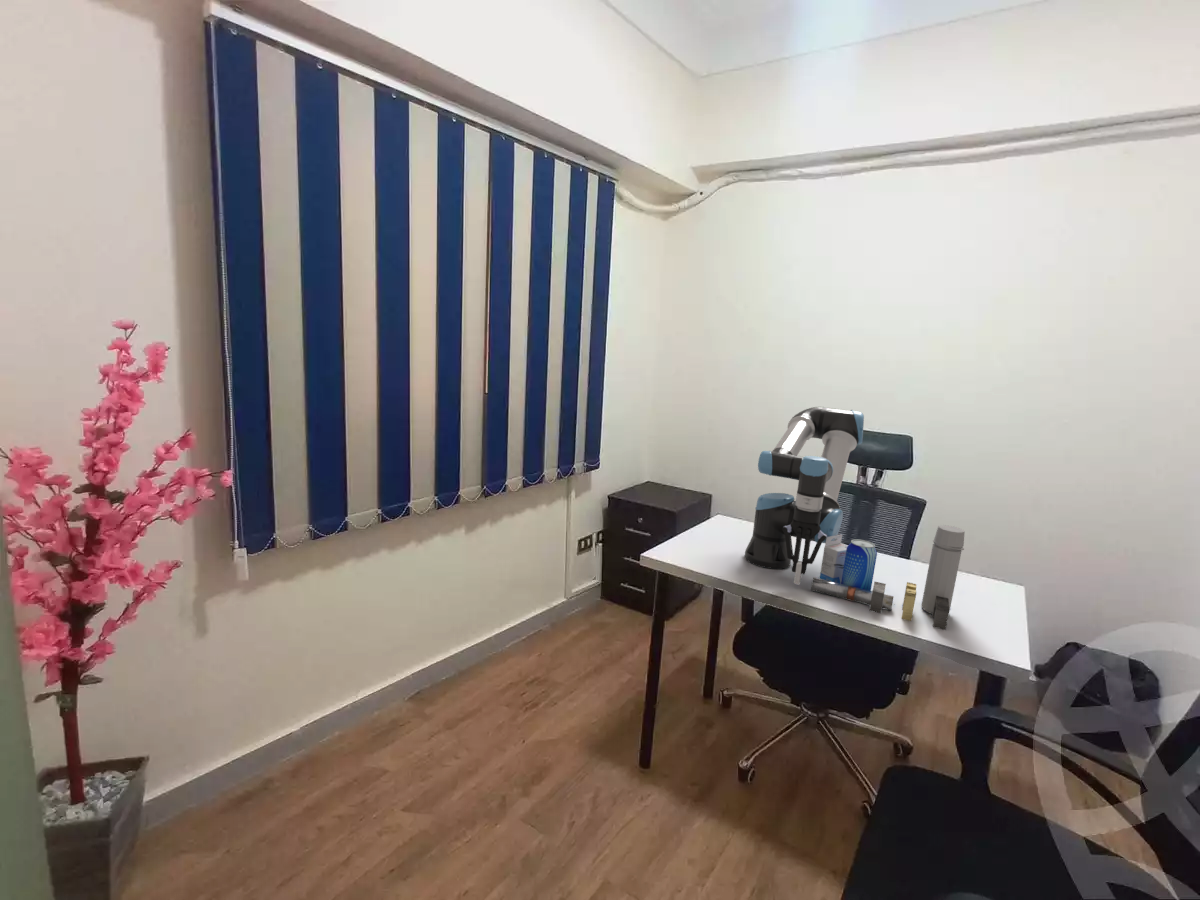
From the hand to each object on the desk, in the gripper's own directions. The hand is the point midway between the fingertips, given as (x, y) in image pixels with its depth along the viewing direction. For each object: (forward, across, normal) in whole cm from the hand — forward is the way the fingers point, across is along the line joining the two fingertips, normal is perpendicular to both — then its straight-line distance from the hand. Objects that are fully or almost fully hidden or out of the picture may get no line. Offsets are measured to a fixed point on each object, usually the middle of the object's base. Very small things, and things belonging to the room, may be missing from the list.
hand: (797, 582), depth 182 cm
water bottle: (+2, +38, +10) cm, 39 cm away
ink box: (+2, +9, +12) cm, 15 cm away
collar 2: (+2, +38, +1) cm, 38 cm away
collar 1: (+2, +22, +1) cm, 22 cm away
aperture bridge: (+2, +30, +1) cm, 30 cm away
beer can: (+2, +16, +7) cm, 18 cm away
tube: (+1, +15, +1) cm, 15 cm away
